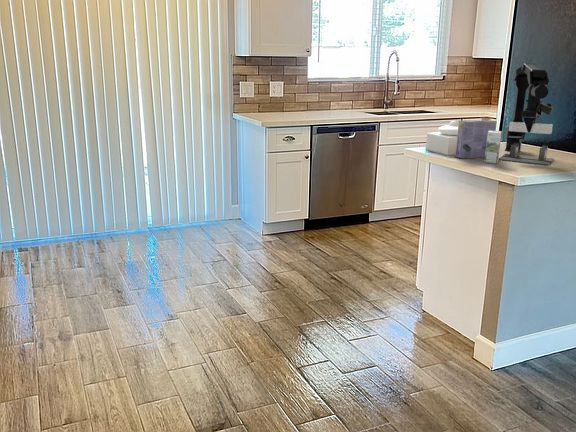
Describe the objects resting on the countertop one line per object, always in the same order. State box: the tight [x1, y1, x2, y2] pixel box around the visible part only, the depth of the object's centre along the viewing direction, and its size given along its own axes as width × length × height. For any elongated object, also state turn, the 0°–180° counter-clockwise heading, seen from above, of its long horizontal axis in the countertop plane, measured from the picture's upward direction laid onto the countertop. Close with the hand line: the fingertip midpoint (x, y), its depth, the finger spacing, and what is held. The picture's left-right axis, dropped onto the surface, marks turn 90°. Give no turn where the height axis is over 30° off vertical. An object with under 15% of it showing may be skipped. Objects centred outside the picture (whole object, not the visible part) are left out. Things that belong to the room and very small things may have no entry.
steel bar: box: [508, 122, 554, 135], centre depth 257 cm, size 18×4×4 cm, turn 58°
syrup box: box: [483, 130, 503, 165], centre depth 253 cm, size 6×6×14 cm
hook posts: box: [501, 143, 555, 163], centre depth 264 cm, size 22×8×6 cm, turn 57°
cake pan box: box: [454, 120, 498, 159], centre depth 265 cm, size 19×5×18 cm, turn 106°
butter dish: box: [425, 120, 459, 156], centre depth 281 cm, size 18×18×16 cm
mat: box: [498, 156, 552, 166], centre depth 258 cm, size 22×7×1 cm, turn 57°
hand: (529, 131), depth 257 cm, fingers closed on steel bar, 4 cm apart
